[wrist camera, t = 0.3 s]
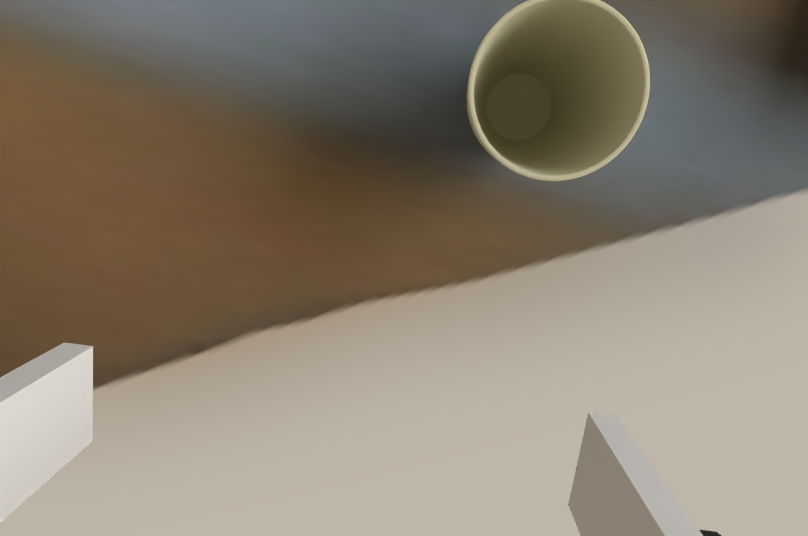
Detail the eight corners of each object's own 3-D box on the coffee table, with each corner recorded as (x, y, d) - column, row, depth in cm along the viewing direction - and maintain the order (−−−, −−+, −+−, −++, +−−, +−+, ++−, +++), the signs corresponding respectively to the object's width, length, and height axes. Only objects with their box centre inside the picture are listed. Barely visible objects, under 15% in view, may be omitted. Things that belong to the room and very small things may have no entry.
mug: (612, 135, 39) (692, 129, 28) (482, 191, 41) (507, 208, 29) (558, -17, 37) (620, -93, 26) (424, 46, 39) (424, 2, 27)
